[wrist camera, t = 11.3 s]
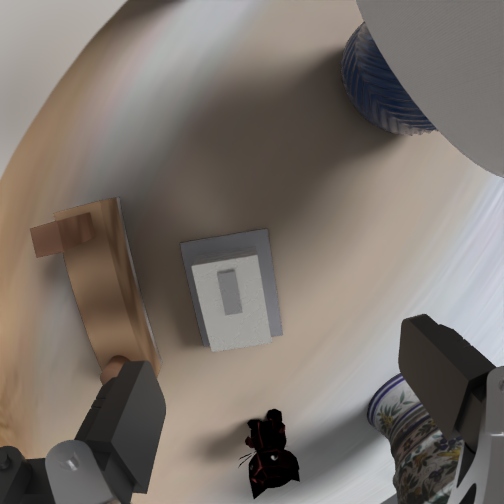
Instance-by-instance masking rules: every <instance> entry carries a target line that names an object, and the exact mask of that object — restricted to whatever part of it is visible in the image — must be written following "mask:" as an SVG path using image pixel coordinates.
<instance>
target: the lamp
mask: <svg viewBox="0 0 504 504" xmlns="http://www.w3.org/2000/svg"><path fill="white" fill-rule="evenodd" d="M356 2H357V5H358V7H359V10H360V12H361V15H362V17H363V20H364V22H363V23H362V24H361V25H360V26H359V27H358V28H357V29H356V30H355V32H354V33H353V34H352V36H351V37H350V39H349V40H348V42H347V43H346V46H345V50H344V52H343V54H342V57H343V60H342V61H341V65H342V69H341V74H342V75H343V77H342V81H343V83H344V88H345V91H346V92H347V94H348V97H349V99H350V100H351V101H352V103H353V105H354V107H355V108H356V109H357V110H358V111H359V112H360V114H361V115H362V116H364V117H365V118H366V119H367V120H368V121H369V122H371V123H372V124H374V125H376V126H377V127H379V128H381V129H383V130H386V131H388V132H390V133H396V134H400V135H406V134H407V135H411V136H412V135H413V134H418V135H421V134H422V133H424V132H426V133H428V134H429V133H431V132H432V131H433V130H435V131H439V132H440V133H441V134H442V135H443V136H444V137H445V138H446V139H447V140H448V141H449V142H450V143H451V144H452V145H453V146H455V147H456V148H457V149H458V150H459V151H460V152H461V153H462V154H464V155H465V156H466V157H468V158H469V159H470V160H472V161H473V162H474V163H475V164H477V165H479V166H480V167H482V168H483V169H485V170H487V171H489V172H491V173H493V174H495V175H497V176H500V177H503V178H504V0H356Z"/></svg>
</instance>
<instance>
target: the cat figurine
mask: <svg viewBox="0 0 504 504" xmlns="http://www.w3.org/2000/svg"><path fill="white" fill-rule="evenodd" d="M266 416H267V418H268V421H264V422H262V421H260V420H250V421H249V422H248V423H247V424H248V426H249V428H250V429H252V430H251V438H250V437H249V436H248V437H247V438H246V440H245V443H246V445H248V446H249V447H250V448H255V450H256V451H255V452H257V453H256V454H255V455H254V457H253V458H252V459H251V461H250V462H249V479H250V484H251V489H252V493H253V498H254V499H255V498H256V497H258V496H259V495H260V494H261V493H262V492H264V491H265V490H266V489H267V488H275V487H280V486H283V485H285V484H286V483H288V482H289V481H290V480H295V481H299V482H300V479H299V472H298V471H299V465H298V462H297V458H296V457H295V456H294V455H293V454H292V453H291V452H290V451H287V450H284V448H285V445H286V439H287V438H286V436H285V425H284V424H283V423H282V413H281V412H280V411H278V410H277V409H272V410H269V411H268V413H267V415H266ZM250 454H251V453H250ZM250 454H248V455H250ZM248 455H246V456H248ZM244 457H245V456H244ZM249 457H251V456H249ZM249 457H248V458H249ZM241 458H243V457H241ZM241 458H240V459H241ZM248 458H247V459H248ZM247 459H246V460H247ZM246 460H245V461H246ZM245 461H244V462H245ZM242 463H243V462H242ZM242 463H241V464H242ZM241 464H240V465H241ZM238 468H239V467H238Z"/></svg>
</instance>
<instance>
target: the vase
mask: <svg viewBox="0 0 504 504" xmlns="http://www.w3.org/2000/svg"><path fill="white" fill-rule="evenodd" d="M367 418H368V421H369V423H370V424H371V425H372V426H373V427H375V428H376V429H377V430H378V431H380V432H381V433H382V434H383V435H384V436H385V437H386V438H387V439H388V440H389V442H390V446H391V454H392V456H393V458H394V460H395V470H396V472H395V475H394V477H393V485H394V487H395V488H396V491H397V498H398V504H447V503H448V500H449V498H450V495H451V491H452V488H453V483H454V479H455V475H456V471H457V466H458V461H459V456H460V450H461V446H462V443H463V441H464V439H463V438H462V436H459V437H457V438H454V439H452V440H450V441H447V440H446V438H445V437H444V435H443V434H442V432H441V431H440V429H439V428H438V426H437V425H436V424H435V422H434V421H433V419H432V418H431V416H430V415H429V413H428V412H427V410H426V409H425V408H424V406H423V405H422V403H421V402H420V400H419V399H418V398H417V396H416V395H415V393H414V392H413V391H412V389H411V388H410V386H409V385H408V384H407V382H406V381H405V379H404V378H403V376H402V375H401V373H400V374H398V375H396V376H395V377H393V378H392V379H390V380H389V381H388V382H387V383H385V384H384V385H383V386H382V387H381V388H380V389H379V390H378V391H377V392H376V394H375V395H374V397H373V398H372V400H371V402H370V404H369V408H368V413H367Z"/></svg>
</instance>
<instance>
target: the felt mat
mask: <svg viewBox="0 0 504 504" xmlns="http://www.w3.org/2000/svg"><path fill="white" fill-rule="evenodd" d="M250 246H255V247H256V251H257V256H258V262H259V268H260V274H261V280H262V286H263V292H264V298H265V304H266V310H267V316H268V322H269V328H270V335H271V337H274V336H280V335H283V332H282V325H281V317H280V310H279V303H278V296H277V289H276V283H275V276H274V269H273V262H272V255H271V249H270V242H269V236H268V229H267V228H265V229H259V230H253V231H247V232H241V233H235V234H229V235H223V236H217V237H211V238H205V239H199V240H194V241H188V242H182V243H180V248H181V252H182V257H183V262H184V266H185V271H186V275H187V280H188V284H189V289H190V293H191V297H192V301H193V306H194V310H195V314H196V318H197V322H198V326H199V330H200V334H201V338H202V342H203V346H204V347H206V346H210V343H209V339H208V335H207V331H206V327H205V323H204V319H203V315H202V310H201V306H200V302H199V298H198V293H197V289H196V285H195V280H194V276H193V271H192V267H191V266H192V264H193V262H194V260H195V258H196V257H197V255H203V254H209V253H215V252H221V251H226V250H232V249H238V248H244V247H250Z"/></svg>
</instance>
